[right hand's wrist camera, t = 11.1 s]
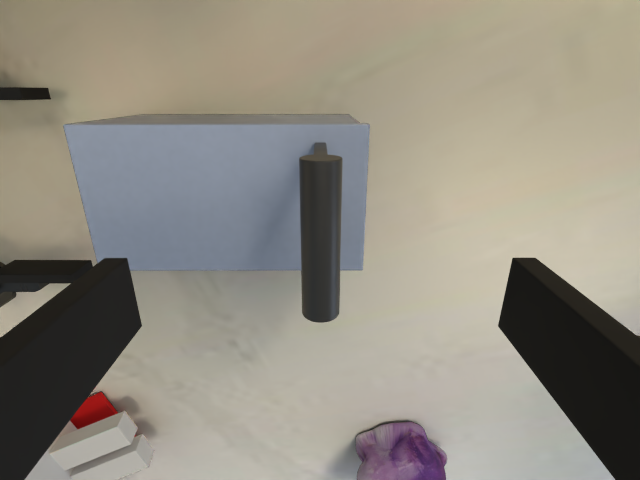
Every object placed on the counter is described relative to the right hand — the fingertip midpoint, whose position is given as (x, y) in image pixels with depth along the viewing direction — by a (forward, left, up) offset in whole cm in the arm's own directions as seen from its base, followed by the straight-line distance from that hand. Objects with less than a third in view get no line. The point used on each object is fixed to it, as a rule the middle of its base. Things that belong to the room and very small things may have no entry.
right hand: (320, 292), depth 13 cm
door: (+3, -5, -12) cm, 13 cm away
